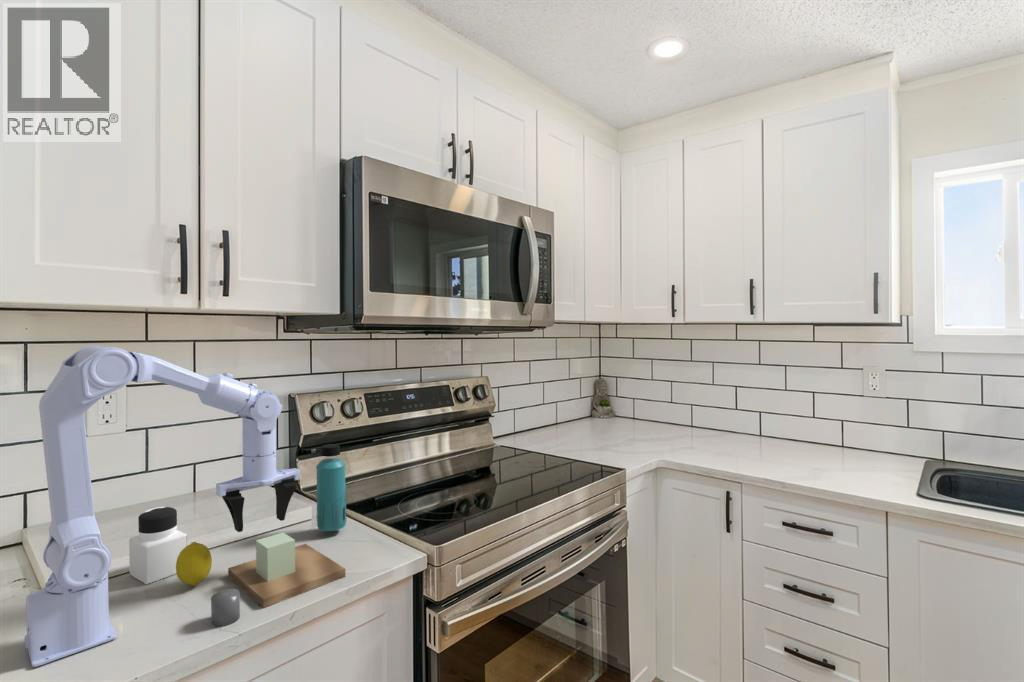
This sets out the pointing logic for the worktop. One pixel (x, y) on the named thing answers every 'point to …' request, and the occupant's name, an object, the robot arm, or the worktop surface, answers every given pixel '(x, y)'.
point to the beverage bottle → (331, 490)
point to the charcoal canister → (225, 607)
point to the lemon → (193, 563)
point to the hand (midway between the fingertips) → (260, 524)
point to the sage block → (275, 556)
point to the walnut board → (287, 577)
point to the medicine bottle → (156, 545)
